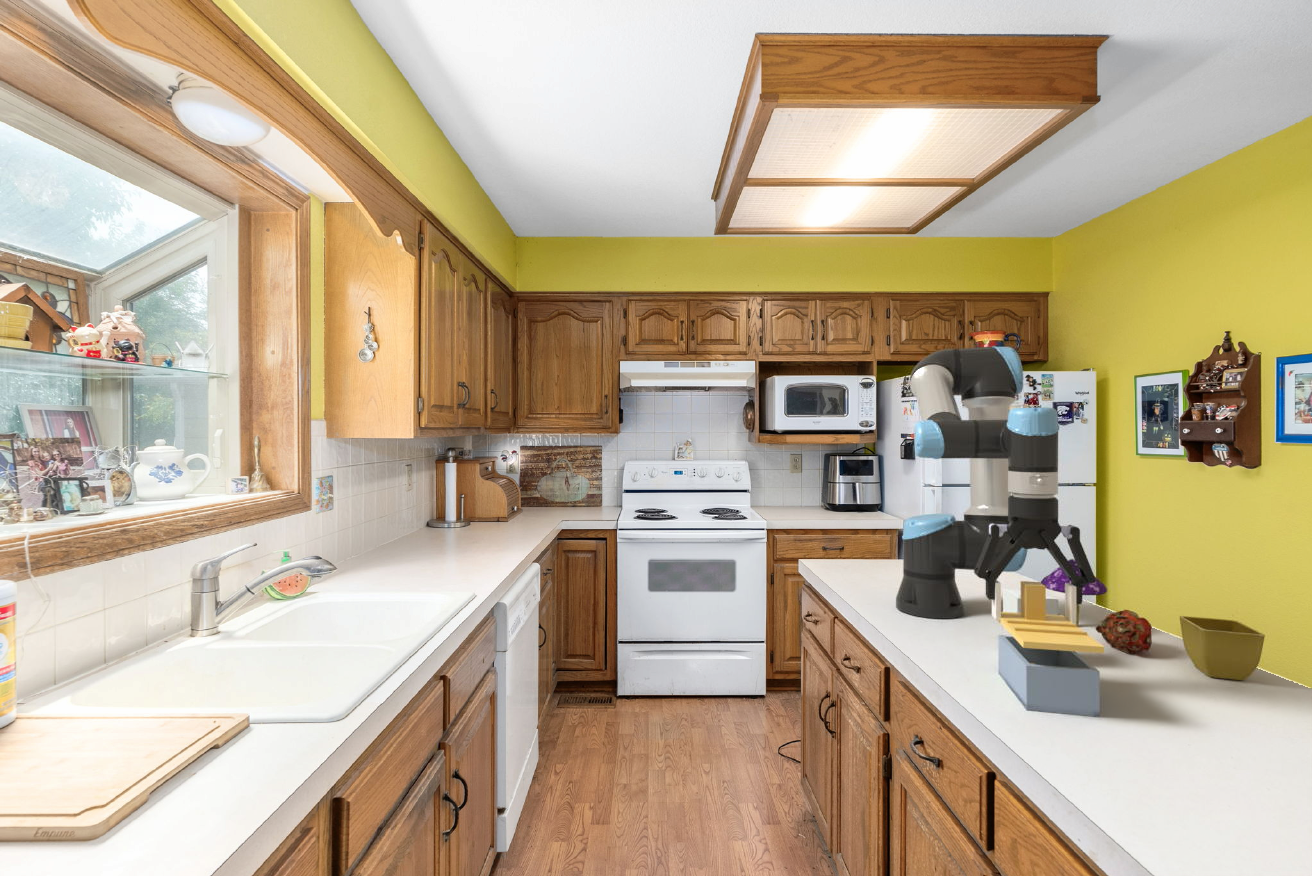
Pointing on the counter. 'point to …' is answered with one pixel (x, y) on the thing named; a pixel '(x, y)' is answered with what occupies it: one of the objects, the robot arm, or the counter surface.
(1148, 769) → the counter surface
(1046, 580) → the decorative mushroom
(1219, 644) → the flower pot
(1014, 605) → the supplement box
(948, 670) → the counter surface
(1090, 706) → the tub
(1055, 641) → the lid
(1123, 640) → the dragon fruit
